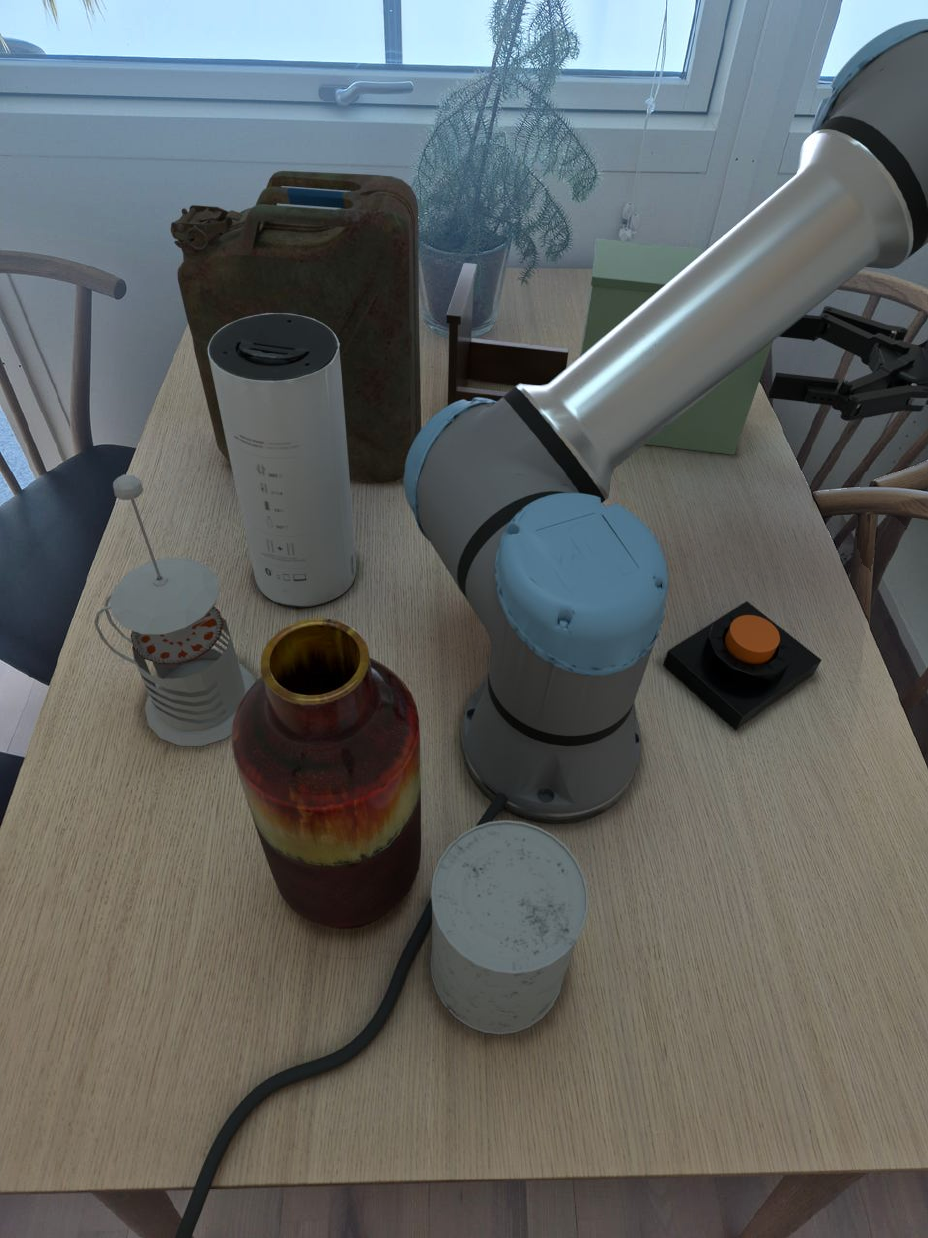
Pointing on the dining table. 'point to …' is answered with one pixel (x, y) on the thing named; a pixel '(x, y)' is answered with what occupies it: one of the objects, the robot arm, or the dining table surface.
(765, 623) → the button
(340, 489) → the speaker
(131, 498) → the french press
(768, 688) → the button block
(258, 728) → the vase
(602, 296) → the storage box
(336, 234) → the container
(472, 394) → the rack
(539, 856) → the pale grey cylinder
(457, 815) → the dining table surface
